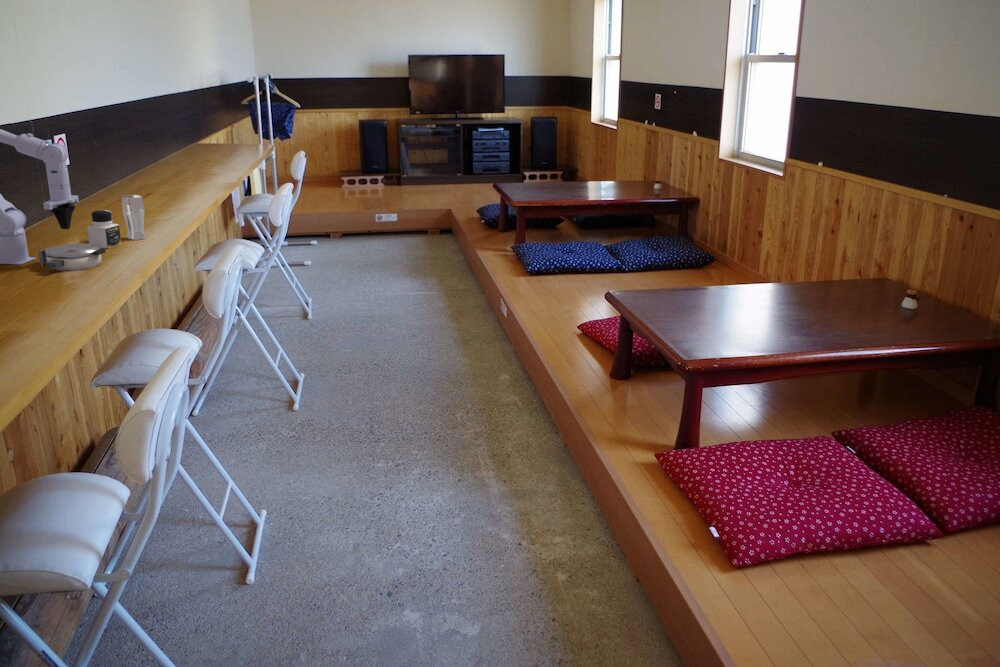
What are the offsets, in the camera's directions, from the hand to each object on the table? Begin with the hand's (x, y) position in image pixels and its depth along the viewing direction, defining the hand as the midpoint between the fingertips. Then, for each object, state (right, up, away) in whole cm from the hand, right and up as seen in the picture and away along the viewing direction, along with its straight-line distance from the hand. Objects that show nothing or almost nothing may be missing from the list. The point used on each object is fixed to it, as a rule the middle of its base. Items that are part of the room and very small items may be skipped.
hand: (65, 228), depth 245 cm
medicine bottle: (0, -3, +24) cm, 24 cm away
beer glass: (+5, +1, +36) cm, 37 cm away
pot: (+3, -11, 0) cm, 11 cm away
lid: (+4, -8, -1) cm, 8 cm away
